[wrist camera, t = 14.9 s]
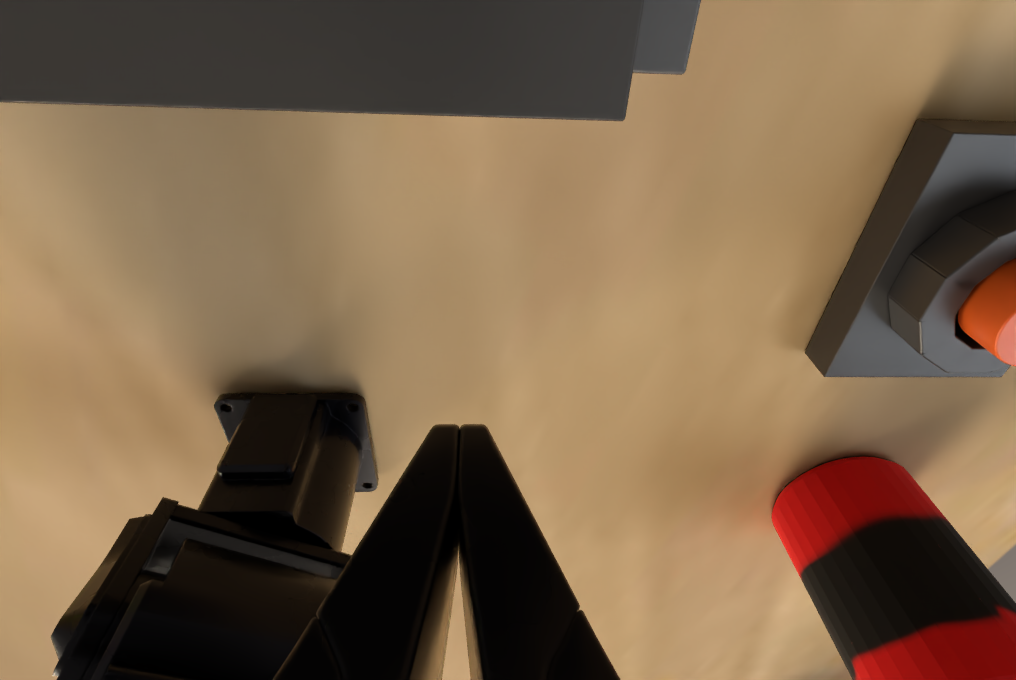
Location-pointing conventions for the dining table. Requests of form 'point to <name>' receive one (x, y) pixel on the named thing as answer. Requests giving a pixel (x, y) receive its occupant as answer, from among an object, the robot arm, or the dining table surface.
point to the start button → (993, 313)
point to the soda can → (894, 576)
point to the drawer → (665, 36)
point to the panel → (925, 258)
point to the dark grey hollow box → (326, 55)
